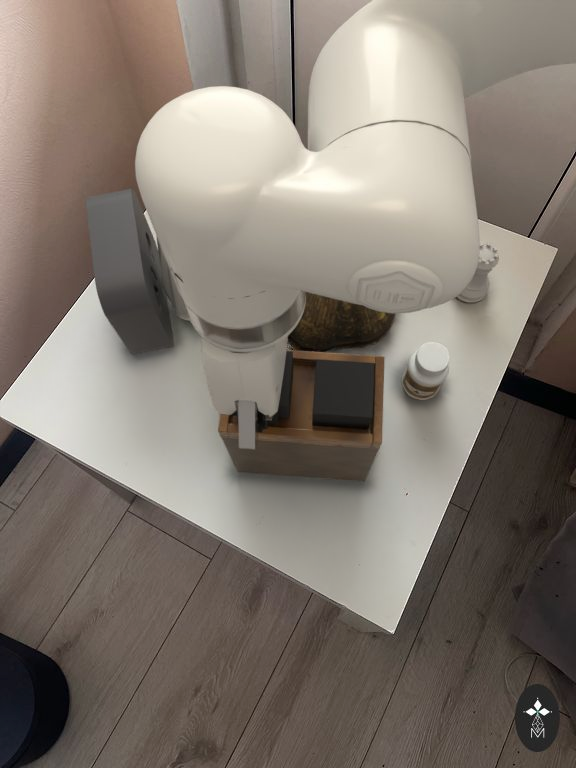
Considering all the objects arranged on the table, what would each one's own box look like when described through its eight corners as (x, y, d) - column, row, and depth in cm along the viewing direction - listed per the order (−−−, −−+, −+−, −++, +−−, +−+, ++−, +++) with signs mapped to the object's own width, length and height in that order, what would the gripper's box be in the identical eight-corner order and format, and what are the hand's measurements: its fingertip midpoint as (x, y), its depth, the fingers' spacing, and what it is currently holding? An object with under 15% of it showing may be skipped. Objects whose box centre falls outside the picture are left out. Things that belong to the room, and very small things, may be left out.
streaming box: (80, 186, 64) (128, 176, 64) (119, 260, 78) (159, 252, 78) (93, 305, 59) (146, 294, 59) (133, 362, 73) (176, 354, 73)
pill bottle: (396, 393, 70) (406, 367, 63) (408, 360, 72) (419, 331, 65) (433, 406, 70) (448, 382, 62) (444, 373, 71) (460, 345, 64)
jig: (367, 411, 70) (384, 356, 55) (365, 481, 67) (382, 443, 52) (245, 403, 70) (228, 345, 56) (237, 472, 68) (217, 431, 53)
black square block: (370, 377, 56) (374, 362, 52) (368, 430, 54) (372, 418, 51) (315, 373, 56) (316, 358, 53) (312, 426, 54) (312, 413, 51)
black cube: (238, 363, 55) (234, 347, 52) (293, 366, 55) (292, 350, 52) (232, 415, 53) (227, 402, 50) (289, 419, 53) (287, 406, 50)
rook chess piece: (493, 283, 75) (514, 246, 68) (476, 310, 74) (496, 276, 66) (460, 266, 76) (477, 228, 69) (443, 293, 75) (459, 257, 67)
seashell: (389, 274, 75) (400, 254, 68) (400, 345, 74) (413, 332, 67) (257, 290, 75) (255, 272, 68) (266, 362, 74) (265, 351, 67)
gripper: (201, 168, 40) (232, 302, 57) (160, 415, 34) (209, 482, 51) (315, 174, 40) (312, 306, 57) (294, 425, 34) (298, 489, 51)
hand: (263, 389), depth 54 cm, fingers closed on black cube, 5 cm apart
